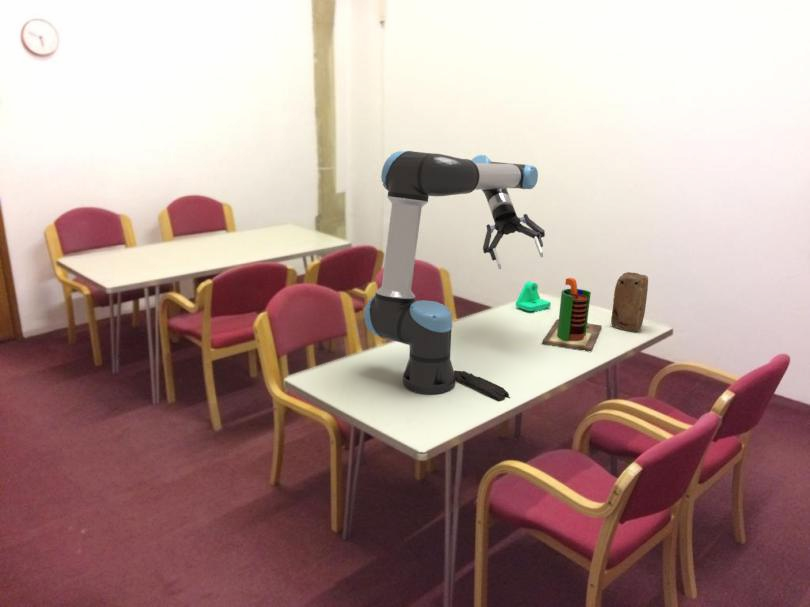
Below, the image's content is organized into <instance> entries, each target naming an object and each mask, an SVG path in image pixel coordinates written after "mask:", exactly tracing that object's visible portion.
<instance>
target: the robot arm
mask: <svg viewBox="0 0 810 607" xmlns="http://www.w3.org/2000/svg"><path fill="white" fill-rule="evenodd" d="M380 177H381V182H382V186H383V187H384V189H385V190H387V199H388V200H389V202H390V203H391V209H390V217H389V224H388V233H387V242H386V246H385V248H386V249H385V255H384V256H385V258H384V264H383V272H382V273H383V274H382V280H381V286H380V287H379V288H378V289H377V290H375V294H374V296H372V297H370V299H369V300H368V303H367V304H366V305H365V307H364V308H365V309H364V313H363V314H364V323H365V326H366V328H367V329H368V330H369V332H370V333H372V334H373V335H374V336H378V337H379V338H382V339H387V340H390V341H393V342H398V343H401V344H404V345H408V346H409V355H408V356H409V357H408V361H407V363H406V366H405V369H404V372H403V375H402V384H403V386H404V387H405V388H406V389H407V390H409V391H411V392H415V393H418V394H423V395H424V394H425V395H437V394H442V393H448V392H449V391H450V392H451V390H453V389H454V388H455V387H456V382H457V381H456V380H457V378H456V377H455V373H454V371H455V370H454V367H453V364H452V360H451V351H452V350H451V347H452V329H453V322H452V320H453V319H452V313H451V310H450V309H449V308H448V306H446V305H445V304H442V303H440V302H438V301H433V300H425V299H424V300H416V295H415V294H414V292H413V291H412V284H413V277H414V270H415V269H414V268H415V261H416V254H417V253H416V252H417V245H418V238H419V230H420V224H421V216H422V209H423V207H424V206H425V205H427V204H428V203H429V197H449V196H456V195H465V194H471V193H472V192H474V191H477V190H481V191H482V192H483V194H484V196H485V198H486V201H487V205H488V208H489V211H490V212H491V216H492V219H493V222H494V224H493V225H491V224H486V232H485V237H484V241H483V246H482V251H483V254H488V253H489V255H490V258H491V260H492V261H496V264H497V265H496V266H497V268H498V270H501V269H502V264H501V261H500V258H499V255H498V252H497V249H496V248H497V246H498V245H499V243H500V240H502V239H503V236H504V235H505V236H508V235H510V234H514V233H516V232H518V233H522V234H524V235H525V236H528V237H530V238H532V239H534V244H535V246H536V249H537V252H538V254H539V256H540V258H543V257H544V251H543V247H544V242H543V240H542V238H545V236H546V235H545V234H546V233H545V229H543V228H542V227H541V226H539V225H538V224H537V223H536V222H534V220H532V219H531V218H530V216H528V214H526V213H524V214H523V216H521V217H518V215H517V213H516V210H515V207H514V204H513V202H512V199H511V196H510V195H509V191H508V189H521V190H533V189H534V188H535V187H536V185H537V183H538V179H539V171H538V167H536V166H535V165H532V164H531V165H530V164H524V163H523V164H521V163H510V162H508V163H507V162H497V161H491V159H490V158H489V157H488V156H487V155H484V154H479V155H476V156H474V157H473V158H472V159H469V158H461V157H455V156H451V155H447V154H442V153H430V152H422V151H421V152H420V151H413V150H405V151H403V150H402V151H401V150H400V151H395V152H393V153H391V154H390V156H388V158H387V159H386V161H385V162H384V164H383V166H382V170H381V175H380ZM522 223H523V224H525V225H526V226H525V225H523V224H522ZM527 226H528V227H527ZM495 230H496V234H495V235H494V237H493V239H492V233H494V231H495ZM491 239H492V241H491ZM415 300H416V301H415Z"/></svg>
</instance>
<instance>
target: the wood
mask: <svg viewBox="0 0 810 607" xmlns="http://www.w3.org/2000/svg"><path fill="white" fill-rule="evenodd" d="M454 373H455V377H456V380H458V382H460V383H461V384H463V385H464V386H466V387H468V388H470V389H473V390H475V391H477V392H479V393H480V394H482V395H485V396H487V397H489V398H491V399H492V400H495V401H496V402H502V401H505V400H506V399H511V396H510V394H509V392H508V391H507V390H506V389H505V388H504V387H502V386H500V385H498V384H496V383H494V382H492V381H489V380H487V379H485V378H483V377H481V376H476V375H474V374H473V373H470V372H467V371H465V370H454Z"/></svg>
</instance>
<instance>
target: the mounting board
mask: <svg viewBox="0 0 810 607" xmlns="http://www.w3.org/2000/svg"><path fill="white" fill-rule="evenodd" d="M558 322H559V318H556V320H554V323H553V325H552V326H551V327H550V329H549V330H548V332H547V334H546V335H545V336H544V338H543V340H542V341H541V342H542V343H541V344H542V345H543V344H544V345H543V346H550V345H552V346H551V347H556V346H558V347H557V348H563V347H564V349H569V348H572V349H571V350H576V349H578V351H582V350H585V351H584V352H589V351H591V350H593V348H594V346H595V344H596V342H597V340H596V339H598V337H599V335H600V333H599V332H601V331H600V330H602V327H603V326H602V325H601V324H594V323H588V322H587V328H586V336H584V339H583V340H581V341H570V340H569V341H564V340H562V339H560V338H558V337H557V331H558ZM591 352H592V351H591Z"/></svg>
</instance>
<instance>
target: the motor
mask: <svg viewBox="0 0 810 607" xmlns="http://www.w3.org/2000/svg"><path fill="white" fill-rule="evenodd" d="M566 285H567V286H569V287H570V288H565V289H562V290H561V292H560V293H561V294H560V302H559V314H558V319H559V322H558V331H557V337H558V338H560V339H562V340H564V341H569V340H570V341H581V340H583V339H584V336H586V328H587V323H588V319H589V318H588V317H589V309H590V302H591V294H592V293H591V291H590V290H586V289H580V288H578V284H577V280H576V278H573V277H567V278H565V286H566Z"/></svg>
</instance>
